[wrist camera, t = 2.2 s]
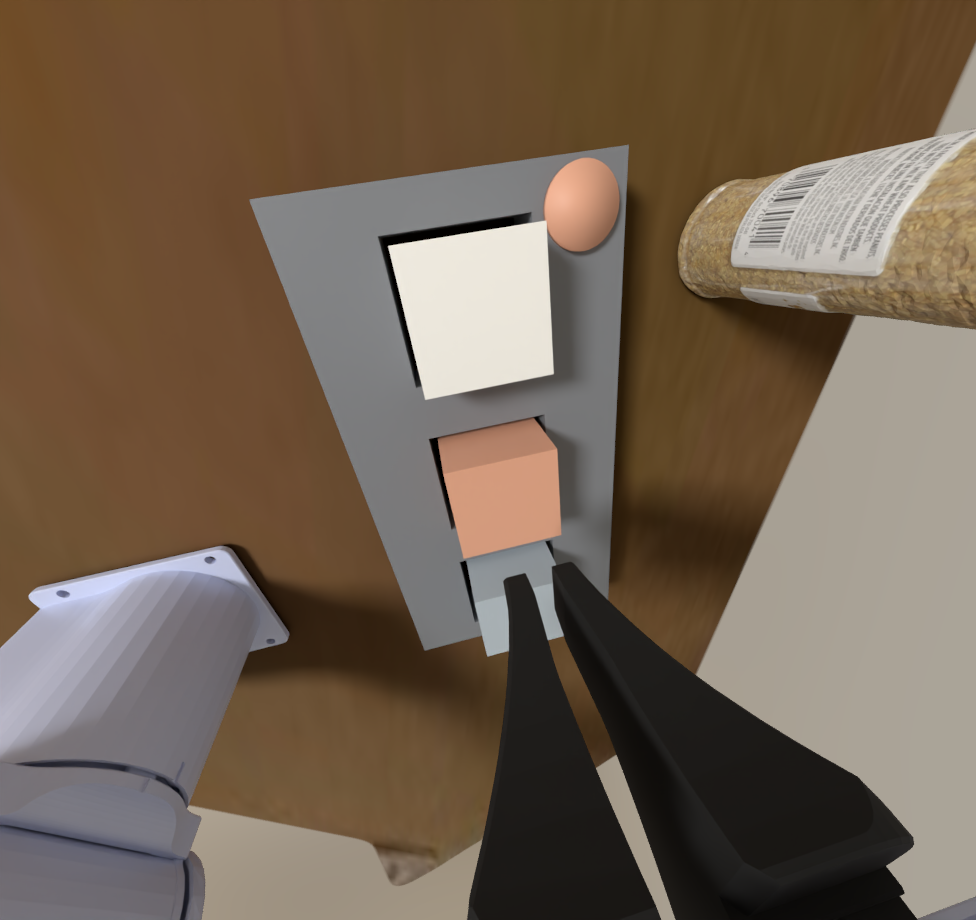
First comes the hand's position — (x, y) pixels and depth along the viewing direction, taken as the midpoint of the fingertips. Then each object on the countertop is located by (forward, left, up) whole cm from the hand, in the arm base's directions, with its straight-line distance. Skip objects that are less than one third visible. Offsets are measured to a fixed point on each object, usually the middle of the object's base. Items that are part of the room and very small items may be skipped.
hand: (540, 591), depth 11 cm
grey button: (0, -8, -8) cm, 11 cm away
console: (0, 0, -9) cm, 9 cm away
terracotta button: (0, 0, -8) cm, 8 cm away
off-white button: (0, +7, -8) cm, 11 cm away
